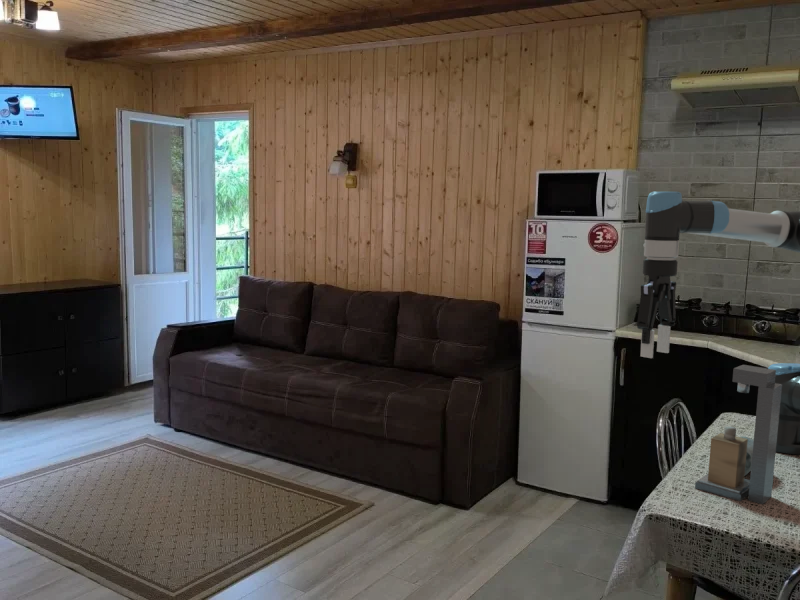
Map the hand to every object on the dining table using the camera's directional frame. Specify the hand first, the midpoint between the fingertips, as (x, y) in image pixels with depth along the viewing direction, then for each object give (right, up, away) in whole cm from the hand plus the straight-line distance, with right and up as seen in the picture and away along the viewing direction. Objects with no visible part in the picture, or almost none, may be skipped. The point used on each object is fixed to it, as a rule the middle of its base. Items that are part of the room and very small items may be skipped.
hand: (654, 354), depth 168 cm
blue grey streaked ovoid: (+24, -30, +8) cm, 39 cm away
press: (+16, -31, -5) cm, 35 cm away
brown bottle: (+15, -29, -4) cm, 33 cm away
